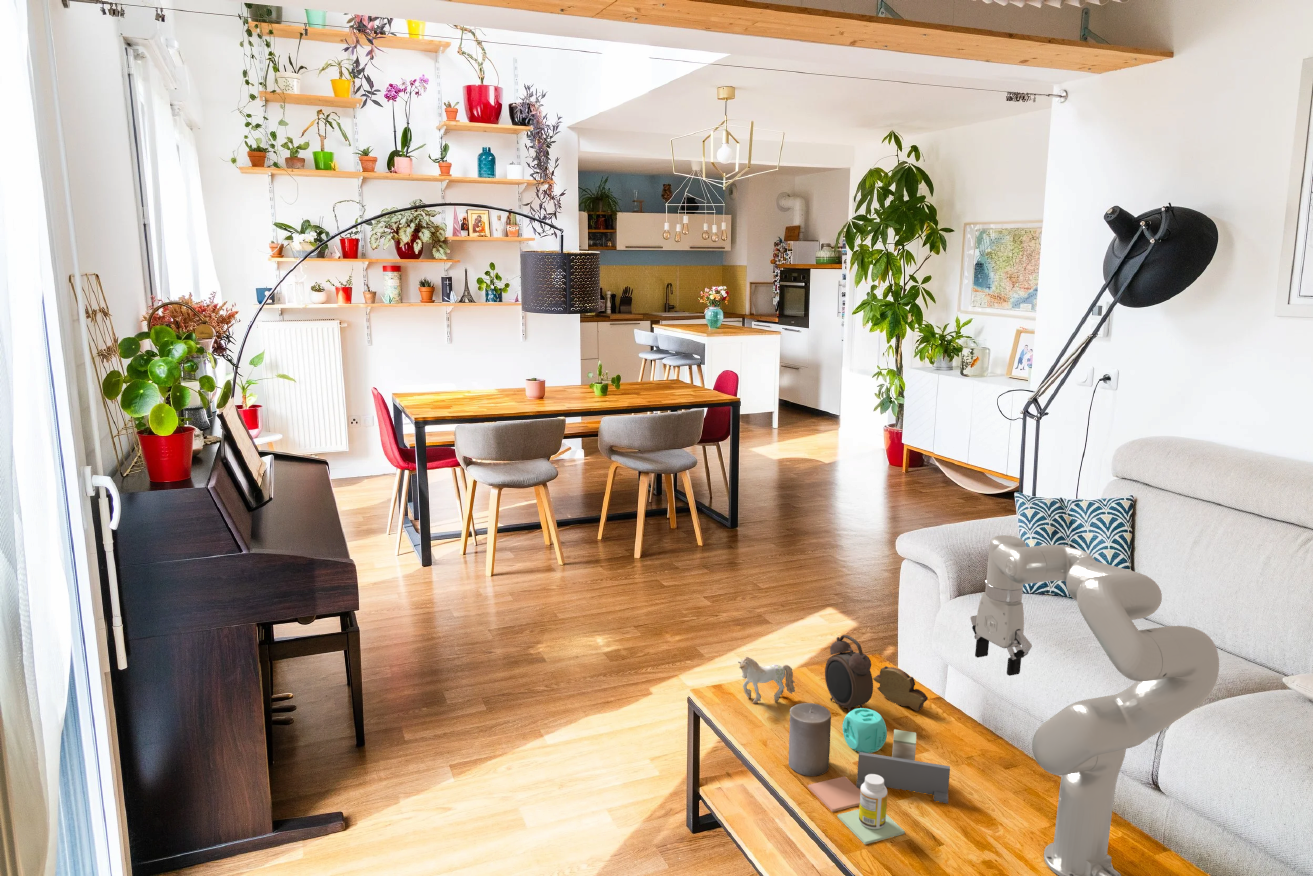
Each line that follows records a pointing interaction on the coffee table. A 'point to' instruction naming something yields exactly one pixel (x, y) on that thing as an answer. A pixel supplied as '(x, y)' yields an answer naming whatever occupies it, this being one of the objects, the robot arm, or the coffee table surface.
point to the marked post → (904, 745)
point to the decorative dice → (864, 730)
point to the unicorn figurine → (765, 677)
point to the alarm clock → (848, 674)
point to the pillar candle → (809, 739)
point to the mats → (845, 796)
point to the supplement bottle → (873, 802)
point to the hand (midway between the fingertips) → (996, 665)
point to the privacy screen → (906, 774)
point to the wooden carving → (900, 688)
